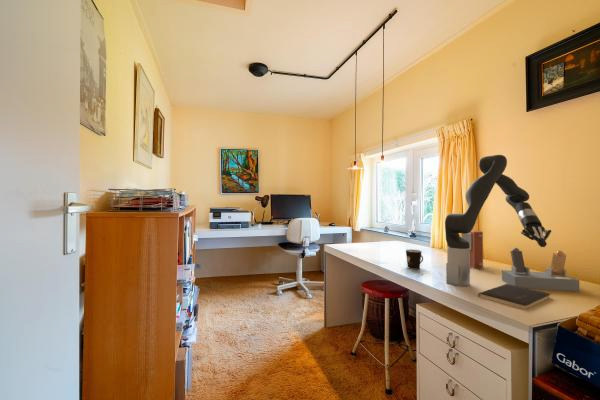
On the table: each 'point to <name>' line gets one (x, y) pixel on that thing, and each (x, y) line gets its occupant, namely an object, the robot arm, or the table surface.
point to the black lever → (518, 260)
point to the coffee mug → (414, 258)
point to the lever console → (540, 280)
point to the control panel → (475, 247)
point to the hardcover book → (515, 296)
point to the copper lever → (558, 263)
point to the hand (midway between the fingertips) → (543, 246)
